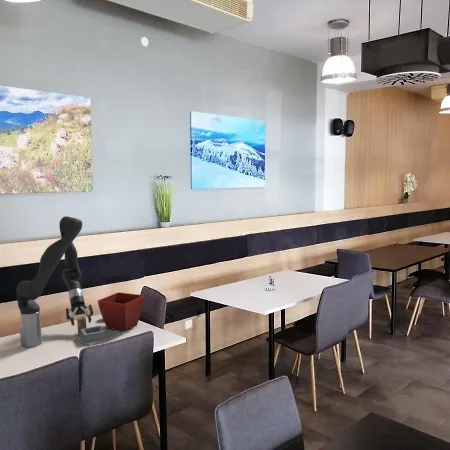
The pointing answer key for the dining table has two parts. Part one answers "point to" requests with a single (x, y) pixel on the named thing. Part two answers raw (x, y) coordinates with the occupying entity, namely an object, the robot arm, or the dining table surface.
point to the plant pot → (121, 310)
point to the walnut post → (81, 324)
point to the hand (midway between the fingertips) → (81, 323)
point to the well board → (107, 335)
